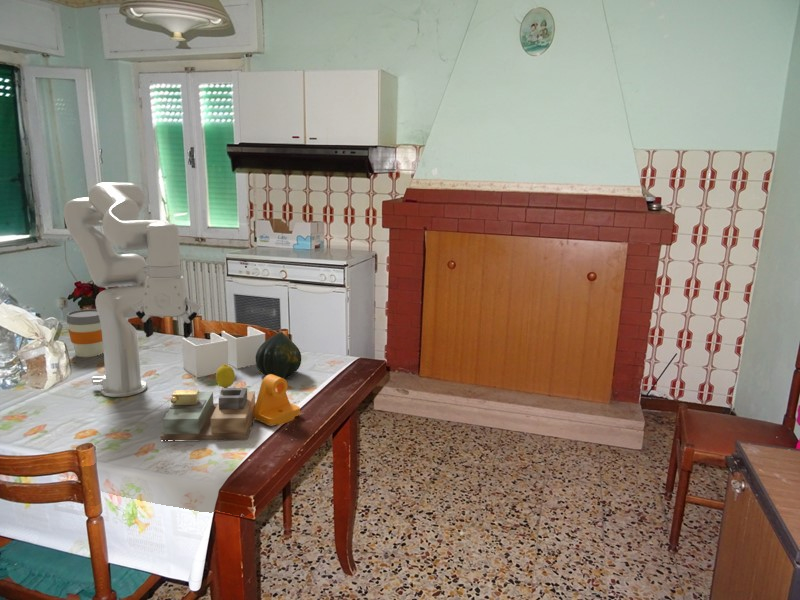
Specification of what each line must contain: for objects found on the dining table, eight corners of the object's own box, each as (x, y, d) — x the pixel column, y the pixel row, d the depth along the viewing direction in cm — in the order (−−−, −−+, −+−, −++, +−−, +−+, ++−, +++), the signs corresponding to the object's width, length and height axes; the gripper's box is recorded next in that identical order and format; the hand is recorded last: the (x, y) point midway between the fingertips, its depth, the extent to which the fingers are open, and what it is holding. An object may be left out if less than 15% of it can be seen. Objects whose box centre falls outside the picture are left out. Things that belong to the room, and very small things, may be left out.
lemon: (229, 393, 172) (228, 368, 170) (213, 391, 173) (212, 366, 171) (238, 386, 177) (237, 362, 175) (222, 384, 178) (221, 360, 176)
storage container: (196, 378, 183) (195, 345, 181) (183, 368, 191) (182, 337, 189) (265, 363, 200) (265, 333, 198) (250, 355, 208) (250, 326, 206)
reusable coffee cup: (98, 359, 197) (94, 317, 194) (62, 358, 197) (58, 316, 194) (116, 348, 209) (113, 309, 206) (82, 347, 209) (79, 308, 206)
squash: (262, 371, 175) (289, 331, 180) (240, 360, 186) (266, 323, 191) (292, 392, 184) (317, 354, 188) (270, 381, 195) (294, 345, 199)
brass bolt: (171, 408, 145) (170, 397, 144) (176, 400, 150) (175, 390, 149) (195, 407, 146) (194, 396, 145) (199, 400, 150) (198, 389, 150)
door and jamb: (160, 441, 140) (158, 409, 138) (181, 408, 159) (180, 379, 157) (247, 439, 142) (246, 407, 140) (257, 407, 162) (256, 379, 160)
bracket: (270, 429, 149) (270, 386, 146) (253, 421, 153) (252, 379, 151) (301, 416, 157) (301, 376, 155) (284, 409, 162) (284, 369, 159)
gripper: (123, 273, 140) (128, 339, 143) (194, 275, 141) (197, 340, 144) (136, 268, 147) (140, 331, 151) (203, 270, 148) (206, 332, 152)
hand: (168, 336), depth 147 cm, fingers open, 9 cm apart
